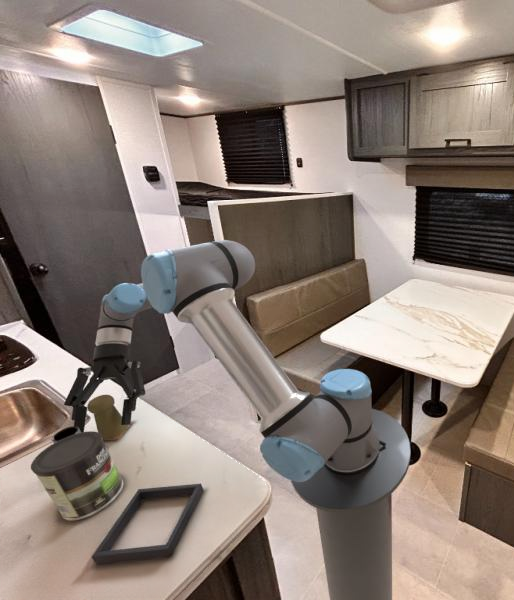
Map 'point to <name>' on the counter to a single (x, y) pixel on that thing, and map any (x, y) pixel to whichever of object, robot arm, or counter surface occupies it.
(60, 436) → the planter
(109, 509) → the counter surface
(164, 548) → the open rectangular frame
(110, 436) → the pepper shaker
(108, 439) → the coaster
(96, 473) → the coffee can
